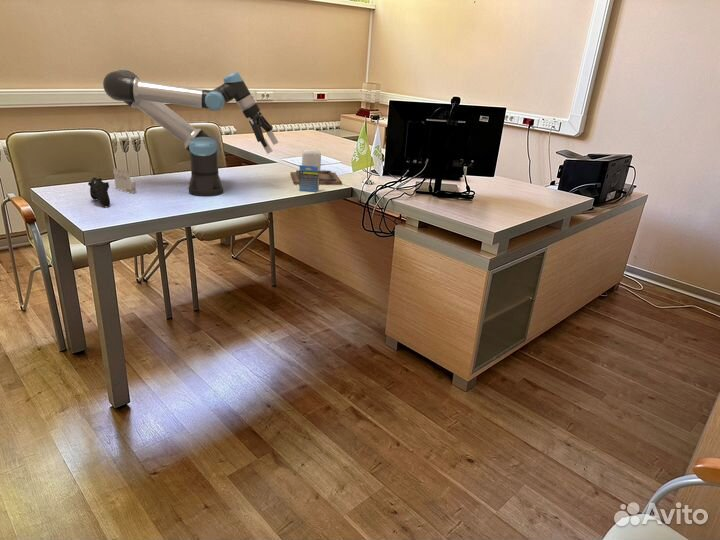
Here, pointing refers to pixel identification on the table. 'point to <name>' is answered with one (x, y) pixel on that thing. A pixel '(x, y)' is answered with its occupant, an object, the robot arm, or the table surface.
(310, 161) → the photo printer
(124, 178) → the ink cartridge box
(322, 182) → the stand
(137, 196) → the table surface
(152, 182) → the table surface
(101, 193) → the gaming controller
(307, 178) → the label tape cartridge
